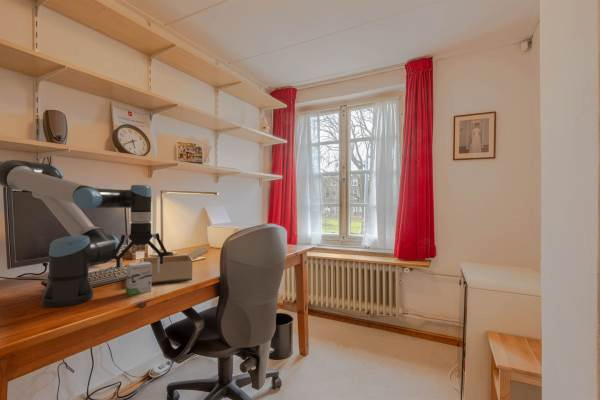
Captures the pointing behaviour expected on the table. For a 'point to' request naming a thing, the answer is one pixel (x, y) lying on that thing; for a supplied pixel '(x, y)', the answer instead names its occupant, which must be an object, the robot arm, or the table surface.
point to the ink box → (138, 278)
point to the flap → (198, 252)
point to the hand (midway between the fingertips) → (140, 273)
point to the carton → (170, 268)
